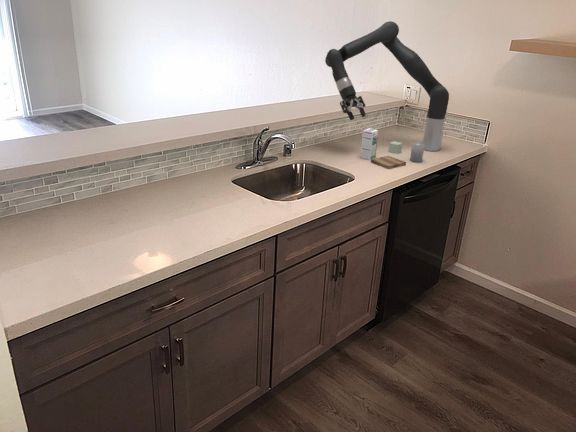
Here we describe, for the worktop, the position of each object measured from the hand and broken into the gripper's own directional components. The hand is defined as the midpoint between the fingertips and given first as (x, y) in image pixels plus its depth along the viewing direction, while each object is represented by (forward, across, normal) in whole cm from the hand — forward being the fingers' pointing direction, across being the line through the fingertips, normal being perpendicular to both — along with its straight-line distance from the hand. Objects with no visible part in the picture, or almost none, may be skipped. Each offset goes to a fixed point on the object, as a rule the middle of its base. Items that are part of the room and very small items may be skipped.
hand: (358, 117), depth 239 cm
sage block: (+22, -19, -4) cm, 30 cm away
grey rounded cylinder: (+31, -16, +10) cm, 36 cm away
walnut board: (+27, 0, +6) cm, 28 cm away
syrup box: (+20, +1, -4) cm, 21 cm away
